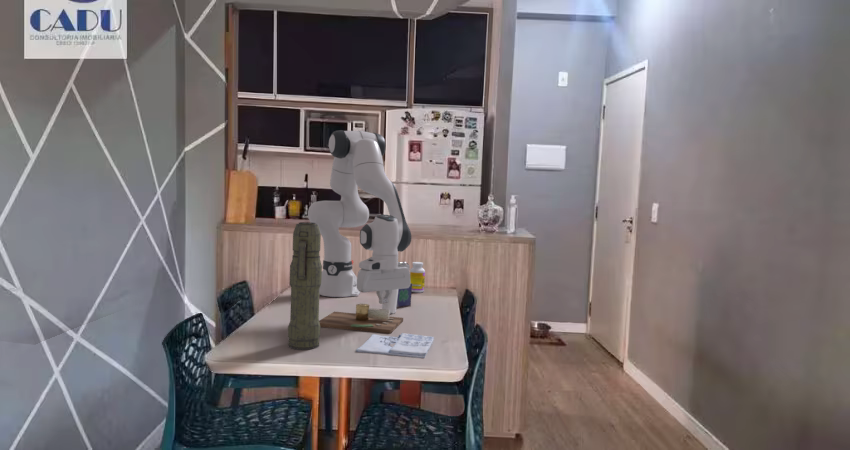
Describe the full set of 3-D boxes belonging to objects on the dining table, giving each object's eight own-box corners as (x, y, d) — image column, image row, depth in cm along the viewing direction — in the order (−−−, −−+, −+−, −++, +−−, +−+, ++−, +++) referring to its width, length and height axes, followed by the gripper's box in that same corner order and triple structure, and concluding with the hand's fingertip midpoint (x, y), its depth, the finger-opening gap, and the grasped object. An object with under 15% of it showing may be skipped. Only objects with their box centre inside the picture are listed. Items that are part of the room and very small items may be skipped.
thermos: (284, 351, 154) (288, 223, 151) (290, 339, 165) (293, 221, 163) (317, 351, 155) (321, 225, 152) (321, 339, 166) (324, 222, 164)
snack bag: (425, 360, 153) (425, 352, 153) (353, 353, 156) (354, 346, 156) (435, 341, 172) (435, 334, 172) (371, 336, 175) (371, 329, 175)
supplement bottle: (424, 293, 245) (425, 264, 244) (408, 292, 245) (410, 263, 244) (424, 290, 252) (425, 261, 251) (409, 289, 252) (410, 261, 251)
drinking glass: (395, 315, 202) (397, 273, 201) (377, 313, 203) (378, 272, 202) (400, 311, 208) (401, 271, 207) (382, 309, 210) (384, 269, 209)
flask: (394, 309, 212) (395, 280, 211) (389, 307, 214) (390, 279, 213) (412, 306, 218) (413, 278, 218) (407, 304, 220) (408, 277, 220)
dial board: (334, 314, 198) (334, 310, 198) (403, 321, 193) (403, 316, 193) (315, 326, 181) (315, 322, 181) (390, 334, 176) (390, 329, 176)
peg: (353, 320, 187) (354, 305, 187) (358, 317, 191) (358, 303, 191) (387, 323, 185) (387, 308, 185) (390, 320, 189) (391, 306, 189)
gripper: (404, 260, 200) (402, 298, 201) (354, 263, 187) (353, 304, 188) (414, 262, 195) (413, 301, 196) (365, 265, 182) (363, 307, 183)
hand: (383, 303), depth 192 cm, fingers closed
